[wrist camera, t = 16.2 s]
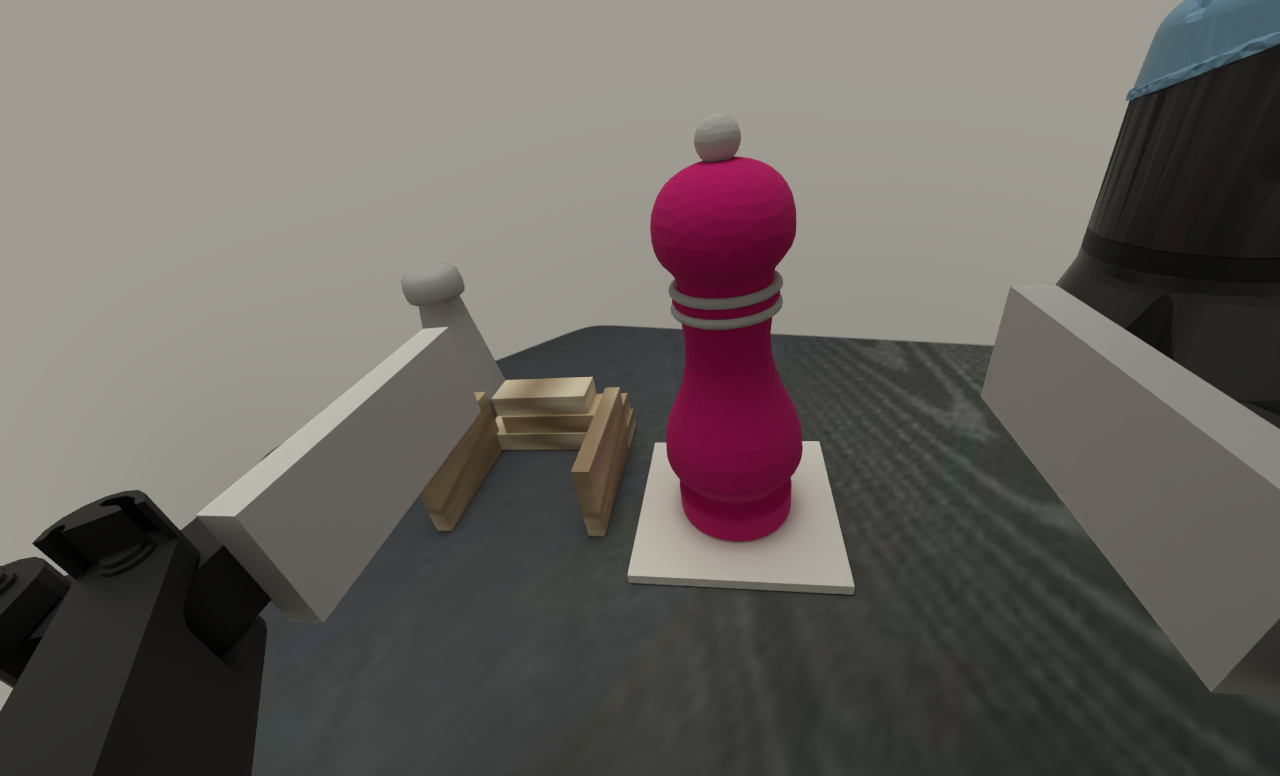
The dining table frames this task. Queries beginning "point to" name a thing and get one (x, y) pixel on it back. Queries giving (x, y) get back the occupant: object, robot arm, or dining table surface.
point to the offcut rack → (540, 444)
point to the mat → (778, 561)
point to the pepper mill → (728, 336)
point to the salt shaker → (453, 321)
